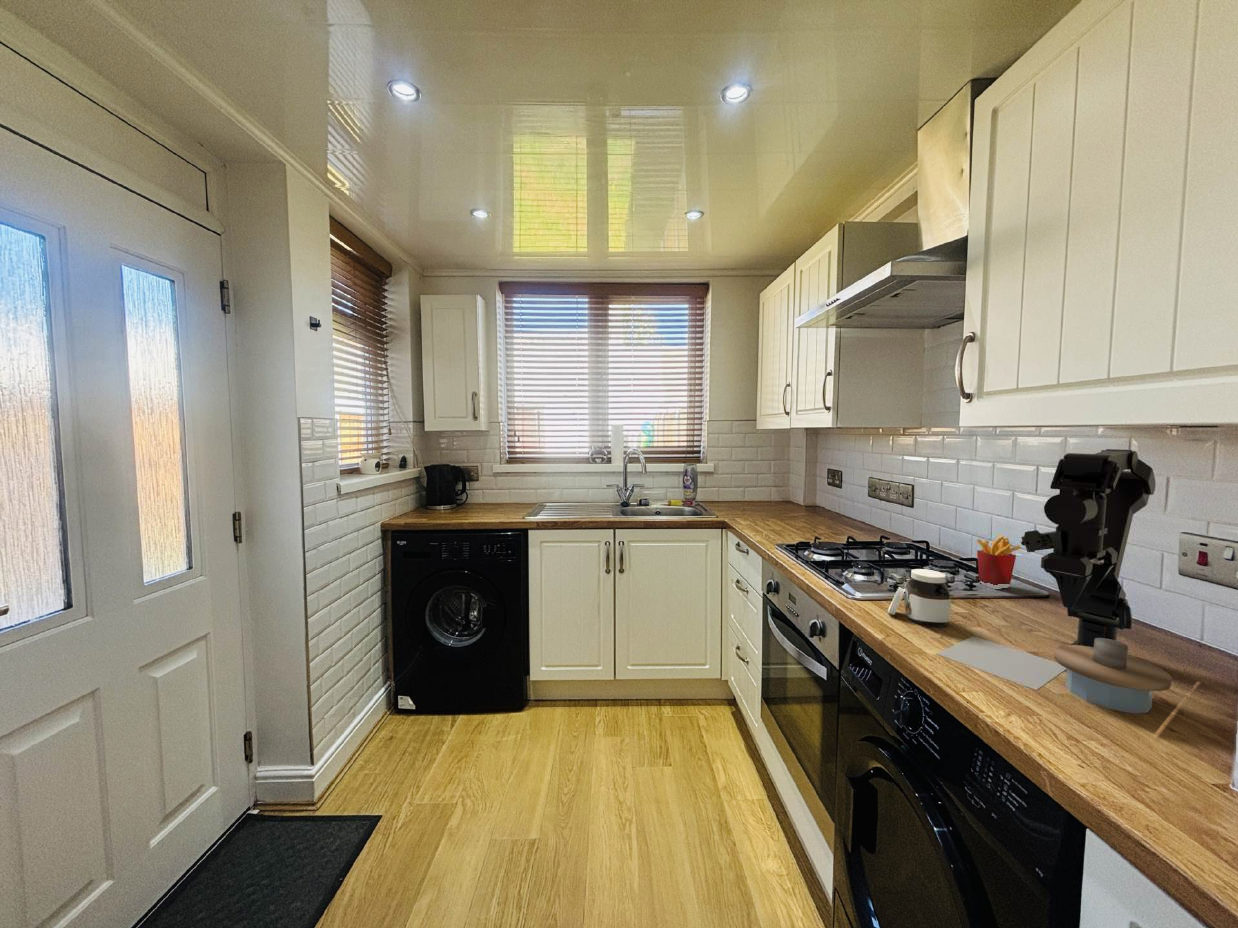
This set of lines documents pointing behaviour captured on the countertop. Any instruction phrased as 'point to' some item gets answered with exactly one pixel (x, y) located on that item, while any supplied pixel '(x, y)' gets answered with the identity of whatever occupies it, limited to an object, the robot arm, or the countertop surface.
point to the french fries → (996, 561)
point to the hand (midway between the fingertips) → (1076, 603)
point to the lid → (1112, 665)
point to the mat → (1004, 662)
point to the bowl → (1109, 694)
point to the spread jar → (924, 598)
